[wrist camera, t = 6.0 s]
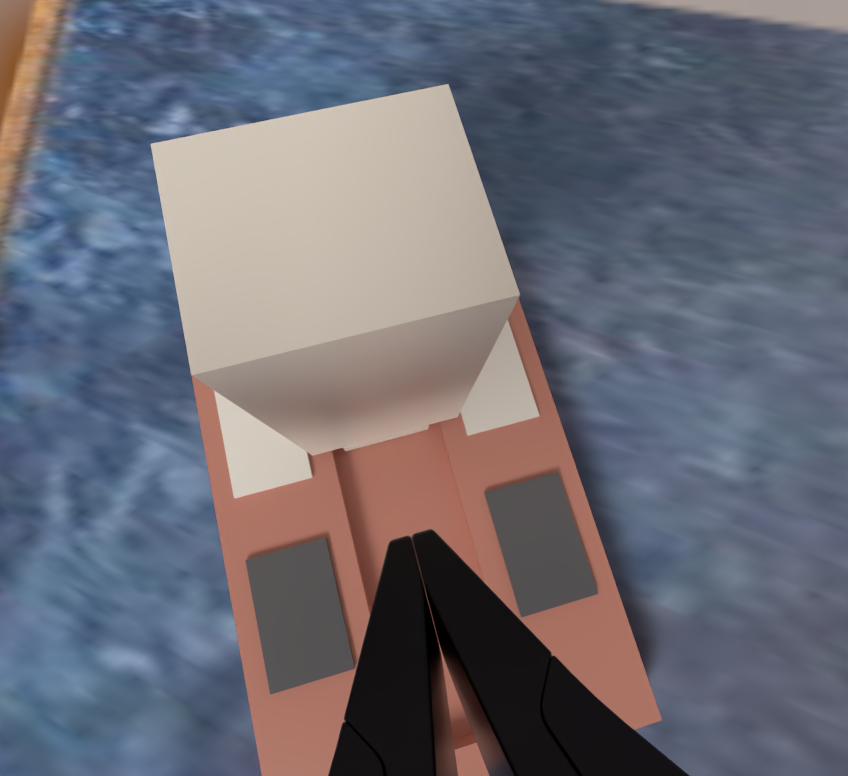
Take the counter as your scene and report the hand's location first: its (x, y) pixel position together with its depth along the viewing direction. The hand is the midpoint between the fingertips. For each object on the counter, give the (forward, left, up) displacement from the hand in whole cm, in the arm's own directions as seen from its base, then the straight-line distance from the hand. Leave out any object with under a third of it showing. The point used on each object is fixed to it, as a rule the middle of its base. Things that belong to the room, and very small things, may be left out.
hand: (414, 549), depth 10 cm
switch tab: (+3, +4, -9) cm, 11 cm away
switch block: (+1, +1, -9) cm, 9 cm away
